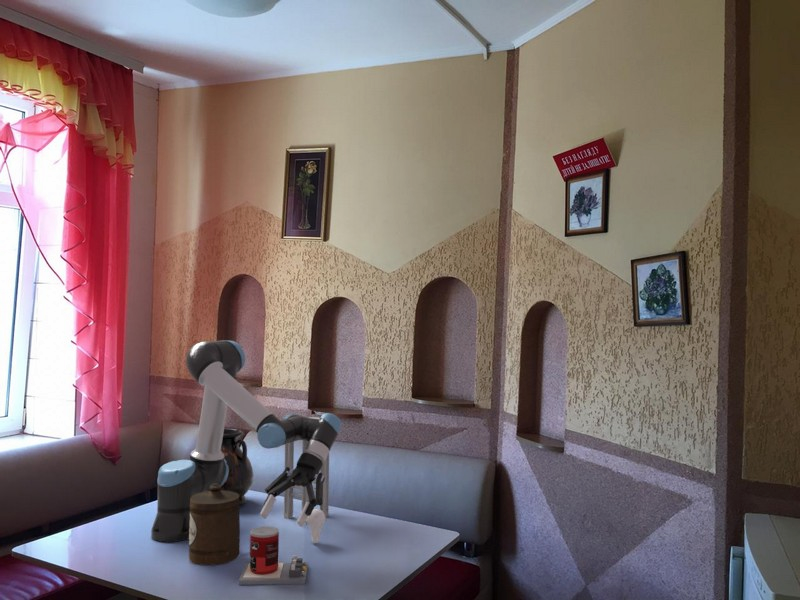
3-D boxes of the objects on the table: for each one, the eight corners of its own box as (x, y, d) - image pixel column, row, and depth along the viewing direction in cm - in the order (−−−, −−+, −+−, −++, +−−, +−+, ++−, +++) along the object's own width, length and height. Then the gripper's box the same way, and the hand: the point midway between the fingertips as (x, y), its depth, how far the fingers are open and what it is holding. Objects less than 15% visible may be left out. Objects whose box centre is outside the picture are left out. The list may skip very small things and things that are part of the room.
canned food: (251, 564, 189) (252, 526, 190) (279, 564, 190) (280, 525, 190) (247, 575, 182) (248, 535, 182) (276, 574, 183) (277, 535, 183)
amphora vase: (263, 500, 258) (264, 428, 259) (231, 516, 238) (232, 438, 239) (218, 494, 266) (219, 424, 266) (182, 509, 246) (184, 434, 246)
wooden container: (198, 547, 207) (199, 477, 208) (245, 548, 207) (246, 478, 207) (181, 565, 193) (182, 490, 193) (231, 566, 192) (232, 491, 192)
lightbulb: (321, 547, 208) (322, 512, 208) (303, 545, 209) (303, 511, 209) (327, 540, 214) (327, 507, 214) (309, 539, 215) (310, 505, 215)
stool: (305, 507, 249) (307, 415, 250) (336, 515, 240) (337, 419, 240) (275, 518, 237) (277, 420, 237) (306, 526, 227) (308, 425, 228)
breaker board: (238, 584, 179) (238, 569, 180) (246, 567, 191) (246, 552, 192) (304, 583, 181) (305, 568, 181) (308, 566, 193) (308, 552, 193)
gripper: (350, 470, 201) (320, 534, 188) (286, 460, 213) (254, 519, 200) (341, 456, 196) (310, 521, 183) (275, 446, 208) (242, 506, 195)
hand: (280, 520), depth 191 cm, fingers open, 13 cm apart
